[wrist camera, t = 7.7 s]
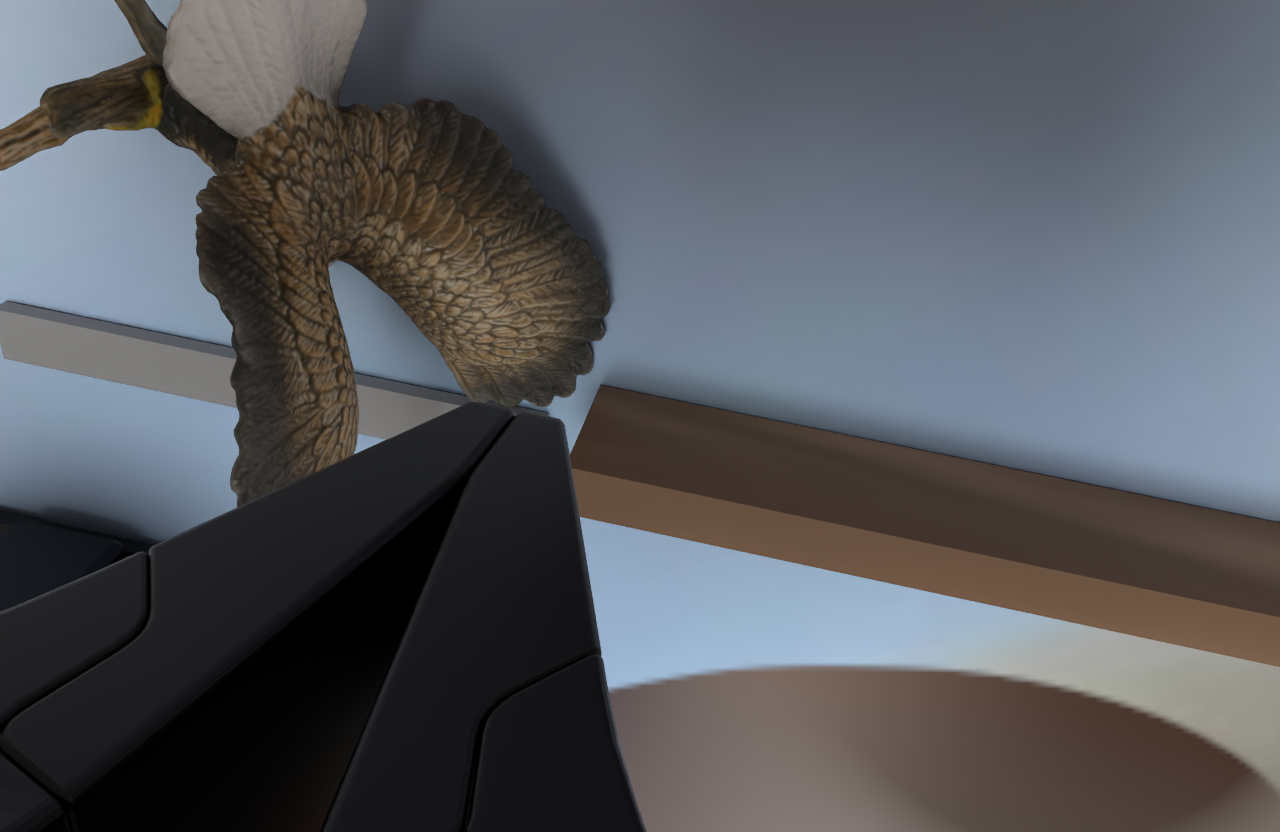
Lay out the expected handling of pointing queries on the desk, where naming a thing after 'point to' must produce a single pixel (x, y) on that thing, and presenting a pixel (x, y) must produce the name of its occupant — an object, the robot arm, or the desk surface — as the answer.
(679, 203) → the desk surface
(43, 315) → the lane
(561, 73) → the desk surface
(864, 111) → the desk surface
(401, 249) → the eagle figurine
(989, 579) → the wooden frame
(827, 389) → the desk surface
